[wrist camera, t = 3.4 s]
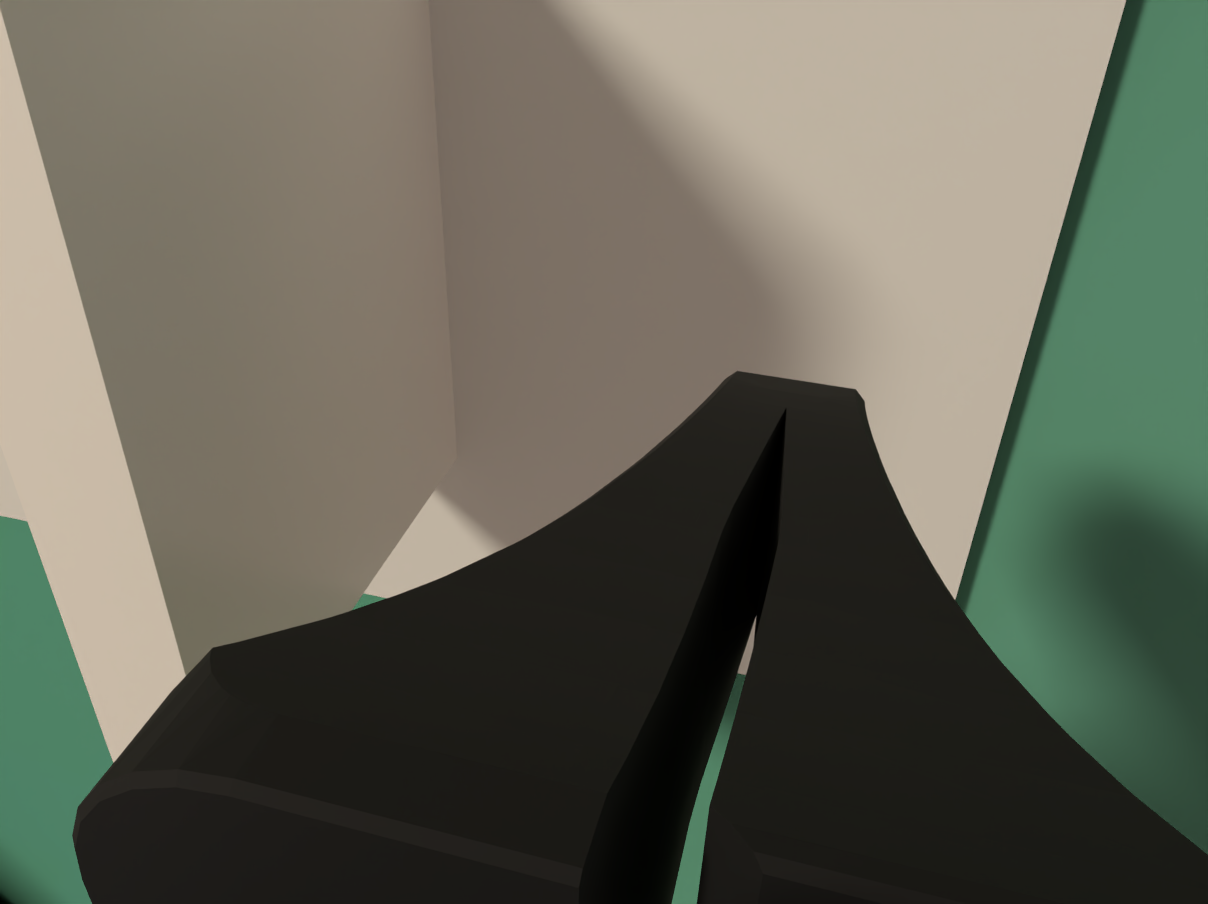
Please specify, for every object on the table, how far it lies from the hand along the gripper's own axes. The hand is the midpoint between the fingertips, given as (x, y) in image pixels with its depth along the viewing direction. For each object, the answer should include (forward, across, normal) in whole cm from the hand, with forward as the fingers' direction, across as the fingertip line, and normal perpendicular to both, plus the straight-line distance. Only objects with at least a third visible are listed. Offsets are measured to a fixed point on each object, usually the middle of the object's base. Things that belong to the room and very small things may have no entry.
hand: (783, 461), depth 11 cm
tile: (+6, +7, 0) cm, 9 cm away
